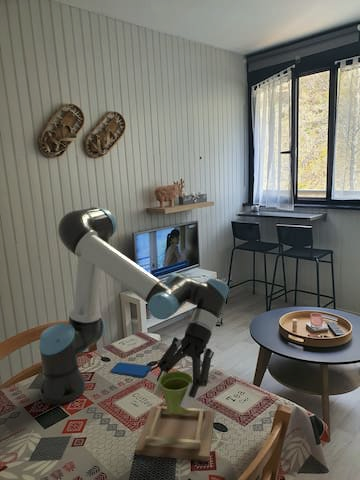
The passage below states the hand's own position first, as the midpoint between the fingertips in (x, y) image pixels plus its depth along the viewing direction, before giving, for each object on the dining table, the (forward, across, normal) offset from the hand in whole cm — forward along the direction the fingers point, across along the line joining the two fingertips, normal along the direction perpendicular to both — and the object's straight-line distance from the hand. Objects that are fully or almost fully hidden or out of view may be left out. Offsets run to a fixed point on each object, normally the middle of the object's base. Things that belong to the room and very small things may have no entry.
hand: (169, 401), depth 99 cm
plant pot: (+1, 0, -5) cm, 5 cm away
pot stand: (+7, 0, -11) cm, 13 cm away
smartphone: (-4, +37, -22) cm, 44 cm away
